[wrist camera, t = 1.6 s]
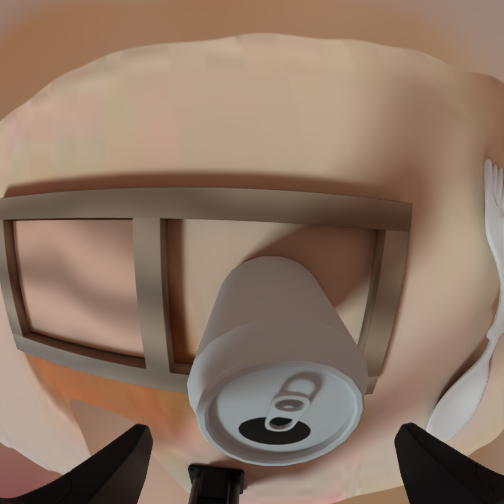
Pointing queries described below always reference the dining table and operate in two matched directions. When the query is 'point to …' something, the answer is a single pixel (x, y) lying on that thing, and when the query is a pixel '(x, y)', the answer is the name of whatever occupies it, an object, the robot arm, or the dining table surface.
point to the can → (276, 368)
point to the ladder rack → (157, 271)
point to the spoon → (476, 377)
